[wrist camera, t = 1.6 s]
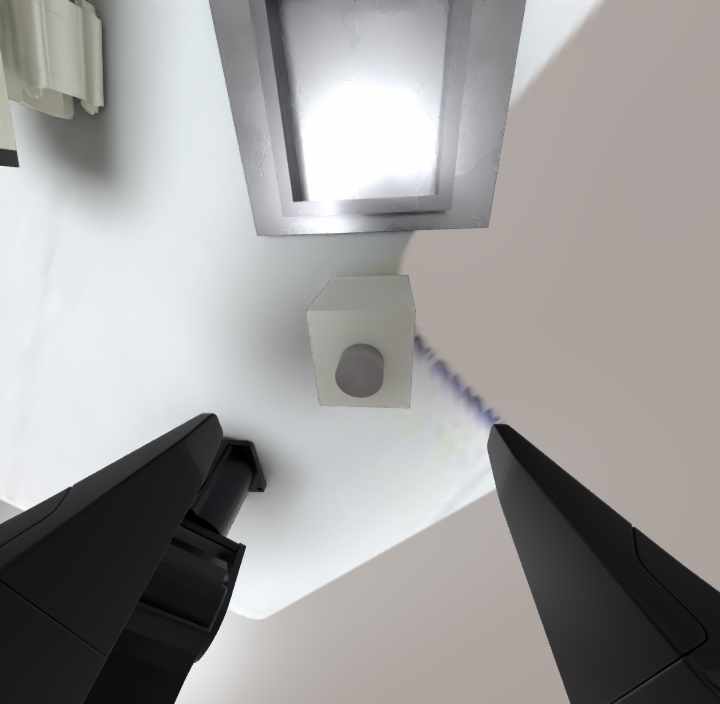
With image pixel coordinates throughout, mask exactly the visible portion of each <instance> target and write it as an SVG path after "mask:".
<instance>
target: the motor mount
mask: <svg viewBox="0 0 720 704" xmlns="http://www.w3.org/2000/svg"><path fill="white" fill-rule="evenodd" d="M209 4H210V9H211V14H212V19H213V23H214V28H215V33H216V38H217V43H218V48H219V53H220V57H221V62H222V67H223V72H224V77H225V82H226V87H227V91H228V96H229V101H230V106H231V111H232V116H233V121H234V125H235V130H236V135H237V140H238V145H239V150H240V155H241V160H242V164H243V169H244V174H245V179H246V184H247V189H248V194H249V198H250V203H251V208H252V213H253V218H254V223H255V228H256V232H257V236H266V235H294V234H322V233H350V232H378V231H406V230H433V229H462V228H487V227H488V226H489V219H490V213H491V208H492V202H493V196H494V190H495V184H496V178H497V172H498V166H499V160H500V154H501V147H502V142H503V136H504V130H505V124H506V118H507V112H508V106H509V100H510V94H511V88H512V82H513V76H514V70H515V64H516V58H517V52H518V46H519V40H520V34H521V28H522V22H523V16H524V10H525V4H526V0H209Z"/></svg>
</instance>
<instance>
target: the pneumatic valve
mask: <svg viewBox="0 0 720 704" xmlns="http://www.w3.org/2000/svg"><path fill="white" fill-rule="evenodd" d="M73 96H74V97H77V98H79V99H81V100H80V102H81V106H82V107H83V108H85V111H86V112H87V113H90V114H92V115H95V113H99V111H98V107H99V106H103V107H104V98H103V59H102V21H101V20H100V19H98V18H97V15H96V14H95V7H94V6H93V5H91V4H90V3H88V2H87V1H85V0H75V2H74V1H73V3H72V2H70V1H69V0H0V166H9V167H19V162H18V155H17V149H16V143H15V137H14V131H13V124H12V118H11V112H10V106H9V100H8V98H9V99H11V100H13V101H15V102H18V103H20V104H22V105H25V106H27V107H30V108H32V109H35V110H38V111H41V112H43V113H46V114H49V115H53V116H56V117H60V118H64V119H72V118H73V116H74V105H73Z"/></svg>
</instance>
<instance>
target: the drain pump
mask: <svg viewBox="0 0 720 704" xmlns="http://www.w3.org/2000/svg"><path fill="white" fill-rule="evenodd" d="M415 313H416V310H415V305H414V301H413V296H412V291H411V286H410V281H409V276H408V275H381V276H333V277H332V278H331V279H330V281H329V282H328V283H327V284H326V286H325V287H324V288H323V290H322V291H321V292H320V293H319V295H318V296H317V297H316V298H315V300H314V301H313V302H312V303H311V305H310V306H309V307H308V309H307V310H306V317H307V324H308V331H309V338H310V345H311V352H312V358H313V365H314V372H315V379H316V386H317V393H318V400H319V405H329V406H357V407H385V408H410V399H411V382H412V364H413V347H414V330H415Z"/></svg>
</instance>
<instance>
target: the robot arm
mask: <svg viewBox="0 0 720 704" xmlns="http://www.w3.org/2000/svg"><path fill="white" fill-rule="evenodd" d="M222 436H223V431H222V428H221V425H220V423H219V420H218V417H217V416H216V415H215V414H213V413H202V414H200V415H198V416H196V417H195V418H193V419H191V420H189V421H187V422H186V423H184V424H182V425H180V426H178V427H177V428H175V429H173V430H171V431H169V432H168V433H166V434H164V435H162V436H160V437H159V438H157V439H155V440H153V441H151V442H150V443H148V444H146V445H144V446H142V447H141V448H139V449H137V450H135V451H133V452H132V453H130V454H128V455H126V456H124V457H123V458H121V459H119V460H117V461H115V462H114V463H112V464H110V465H108V466H106V467H105V468H103V469H101V470H99V471H97V472H96V473H94V474H92V475H90V476H88V477H87V478H85V479H83V480H81V481H79V482H78V483H76V484H74V485H73V487H68V488H67V489H65V490H63V491H61V492H59V493H58V494H56V495H54V496H52V497H50V498H49V499H47V500H45V501H43V502H41V503H39V504H38V505H36V506H34V507H32V508H30V509H28V510H26V511H25V512H23V513H21V514H19V515H17V516H15V517H13V518H11V519H9V520H7V521H5V522H3V523H1V524H0V704H174V703H175V701H176V698H177V696H178V694H179V692H180V690H181V687H182V685H183V683H184V681H185V679H186V677H187V675H188V673H189V671H190V669H191V667H192V665H193V663H196V662H197V661H199V660H200V658H201V657H202V656H203V655H204V654H205V652H206V651H207V649H208V648H209V646H210V644H211V643H212V641H213V639H214V637H215V636H216V634H217V632H218V630H219V627H220V626H221V623H222V621H223V619H224V616H225V614H226V611H227V609H228V606H229V603H230V599H231V596H232V592H233V589H234V586H235V582H236V579H237V576H238V572H239V569H240V565H241V562H242V559H243V555H244V552H245V549H246V546H245V545H243V544H241V543H239V544H238V543H236V542H234V541H232V540H230V539H228V538H226V536H227V534H228V532H229V530H230V528H231V526H232V524H233V522H234V520H235V518H236V516H237V514H238V512H239V510H240V508H241V506H242V504H243V502H244V500H245V498H246V496H247V494H248V492H249V491H250V492H264V490H265V488H266V484H265V481H264V478H263V475H262V472H261V469H260V465H259V462H258V459H257V456H256V453H255V450H254V447H253V445H252V444H251V443H250V442H243V441H224V440H222ZM487 449H488V454H489V459H490V463H491V467H492V471H493V476H494V480H495V484H496V489H497V493H498V497H499V500H500V504H501V507H502V510H503V513H504V515H505V518H506V521H507V524H508V527H509V530H510V533H511V535H512V538H513V541H514V544H515V547H516V550H517V553H518V555H519V558H520V561H521V564H522V567H523V569H524V573H525V575H526V578H527V581H528V584H529V587H530V590H531V593H532V595H533V598H534V601H535V604H536V607H537V610H538V613H539V615H540V618H541V621H542V624H543V627H544V630H545V632H546V635H547V638H548V641H549V644H550V647H551V649H552V652H553V655H554V658H555V661H556V664H557V667H558V670H559V672H560V675H561V678H562V681H563V684H564V687H565V689H566V692H567V695H568V698H569V701H570V704H720V592H719V591H718V590H716V589H715V588H714V587H712V586H711V585H709V584H708V583H707V582H705V581H704V580H703V579H701V578H700V577H699V576H697V575H696V574H695V573H693V572H692V571H691V570H689V569H688V568H687V567H685V566H684V565H683V564H681V563H680V562H679V561H678V560H676V559H675V558H674V557H672V556H671V555H670V554H669V553H667V552H666V551H665V550H664V549H662V548H661V547H660V546H658V545H657V544H656V543H654V542H653V541H652V540H651V539H650V538H648V537H647V536H646V535H645V534H643V533H642V532H641V531H640V530H638V529H637V528H636V527H632V524H631V523H630V522H628V521H627V520H626V519H624V518H623V517H622V516H621V515H620V514H618V513H617V512H616V511H615V510H613V509H612V508H611V507H610V506H608V505H607V504H606V503H605V502H603V501H602V500H601V499H600V498H598V497H597V496H596V495H595V494H593V493H592V492H591V491H590V490H588V489H587V488H586V487H585V486H584V485H582V484H581V483H580V482H579V481H577V480H576V479H575V478H574V477H572V476H571V475H570V474H569V473H567V472H566V471H565V470H563V469H562V468H561V467H560V466H558V465H557V464H556V463H555V462H554V461H552V460H551V459H550V458H549V457H548V456H546V455H545V454H544V453H543V452H541V451H540V450H539V449H538V448H536V447H535V446H534V445H533V444H531V443H530V442H529V441H528V440H526V439H525V438H524V437H523V436H521V435H520V434H519V433H518V432H516V431H515V430H514V429H513V428H512V427H510V426H509V425H507V424H493V425H492V427H491V431H490V435H489V439H488V443H487Z"/></svg>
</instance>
